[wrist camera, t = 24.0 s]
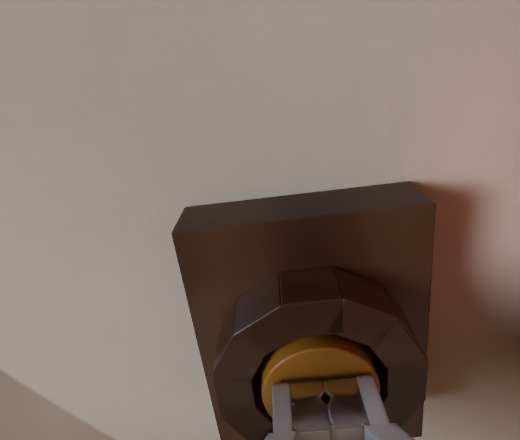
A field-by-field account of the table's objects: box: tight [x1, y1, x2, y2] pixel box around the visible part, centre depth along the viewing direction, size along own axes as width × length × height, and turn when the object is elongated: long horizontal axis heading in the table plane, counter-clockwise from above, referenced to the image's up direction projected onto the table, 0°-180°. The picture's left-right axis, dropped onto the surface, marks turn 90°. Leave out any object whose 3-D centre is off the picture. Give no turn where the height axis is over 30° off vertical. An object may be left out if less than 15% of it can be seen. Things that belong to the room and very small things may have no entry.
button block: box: [172, 182, 436, 440], centre depth 13 cm, size 8×10×4 cm
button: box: [261, 334, 380, 418], centre depth 12 cm, size 4×4×2 cm
